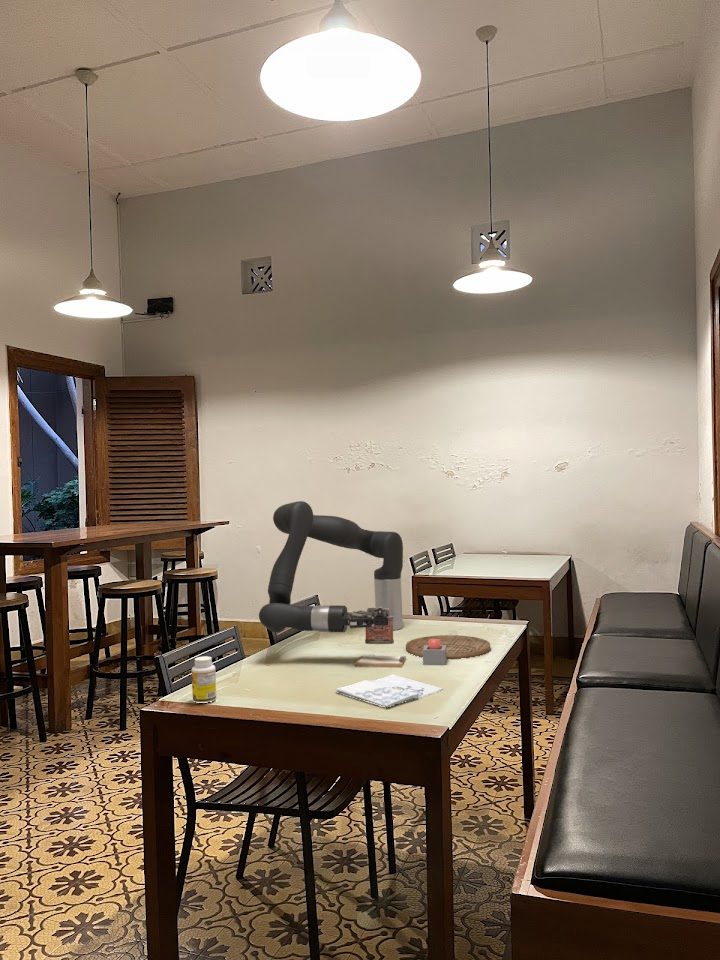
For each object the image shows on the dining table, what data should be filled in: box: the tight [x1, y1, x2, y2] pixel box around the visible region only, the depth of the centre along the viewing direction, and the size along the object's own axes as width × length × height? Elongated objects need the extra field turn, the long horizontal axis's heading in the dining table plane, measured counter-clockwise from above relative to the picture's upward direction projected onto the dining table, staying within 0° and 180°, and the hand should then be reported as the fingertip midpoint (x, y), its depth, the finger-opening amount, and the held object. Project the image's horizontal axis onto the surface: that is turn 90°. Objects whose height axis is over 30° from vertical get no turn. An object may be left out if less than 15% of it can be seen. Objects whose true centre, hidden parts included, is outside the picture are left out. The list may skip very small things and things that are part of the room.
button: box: [429, 639, 440, 649], centre depth 203 cm, size 3×3×4 cm
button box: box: [422, 645, 447, 666], centre depth 203 cm, size 6×6×4 cm
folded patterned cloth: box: [334, 673, 444, 708], centre depth 176 cm, size 19×20×2 cm
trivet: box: [405, 634, 491, 660], centre depth 218 cm, size 25×25×2 cm
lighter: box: [364, 607, 395, 645], centre depth 205 cm, size 8×3×10 cm, turn 84°
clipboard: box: [354, 655, 407, 668], centre depth 204 cm, size 9×13×1 cm
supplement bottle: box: [191, 655, 217, 703], centre depth 173 cm, size 6×6×10 cm
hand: (389, 619), depth 204 cm, fingers closed on lighter, 3 cm apart
